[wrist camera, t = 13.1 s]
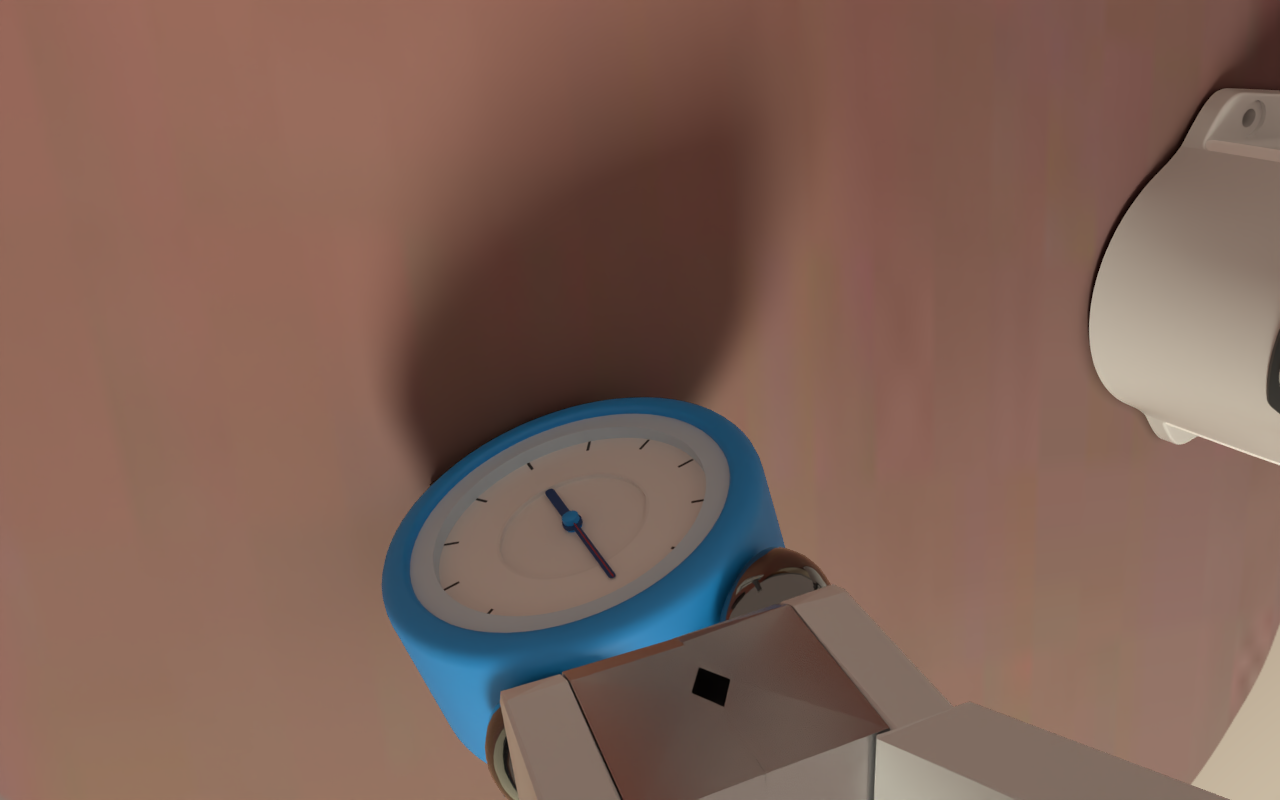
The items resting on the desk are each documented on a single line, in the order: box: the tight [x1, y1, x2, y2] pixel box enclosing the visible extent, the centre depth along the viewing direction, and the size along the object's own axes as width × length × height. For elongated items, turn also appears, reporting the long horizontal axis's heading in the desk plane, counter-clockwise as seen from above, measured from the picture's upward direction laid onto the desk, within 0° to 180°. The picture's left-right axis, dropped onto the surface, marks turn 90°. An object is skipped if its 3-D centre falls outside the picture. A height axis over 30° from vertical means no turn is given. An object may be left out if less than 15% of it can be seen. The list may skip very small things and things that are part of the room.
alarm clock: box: [382, 397, 831, 800], centre depth 34 cm, size 13×6×15 cm, turn 108°
